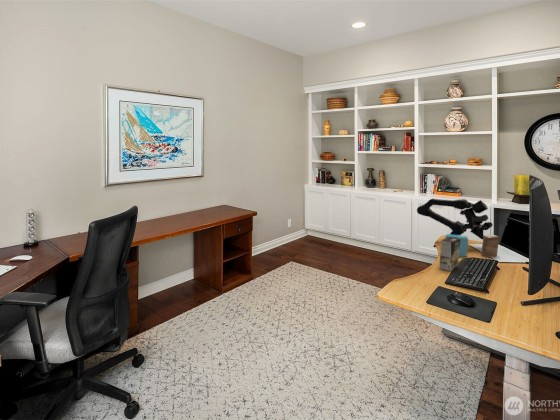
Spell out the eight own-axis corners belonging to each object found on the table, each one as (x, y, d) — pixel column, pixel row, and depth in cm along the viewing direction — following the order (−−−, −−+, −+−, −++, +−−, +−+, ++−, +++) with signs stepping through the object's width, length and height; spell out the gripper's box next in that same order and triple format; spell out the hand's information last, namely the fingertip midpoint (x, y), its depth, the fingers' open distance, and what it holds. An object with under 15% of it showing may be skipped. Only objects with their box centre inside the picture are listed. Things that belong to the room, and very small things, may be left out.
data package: (466, 255, 204) (468, 235, 201) (466, 257, 200) (468, 237, 197) (443, 252, 209) (445, 233, 206) (443, 254, 205) (445, 235, 202)
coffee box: (451, 271, 180) (453, 242, 176) (438, 268, 184) (441, 239, 181) (458, 267, 186) (460, 238, 182) (446, 263, 190) (448, 236, 187)
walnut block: (481, 255, 203) (483, 235, 200) (491, 254, 204) (493, 234, 201) (486, 257, 199) (488, 237, 196) (496, 256, 200) (499, 236, 198)
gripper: (465, 211, 206) (477, 233, 197) (492, 209, 209) (505, 231, 201) (455, 220, 215) (466, 242, 206) (481, 218, 218) (492, 240, 210)
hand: (482, 239), depth 206 cm, fingers closed
